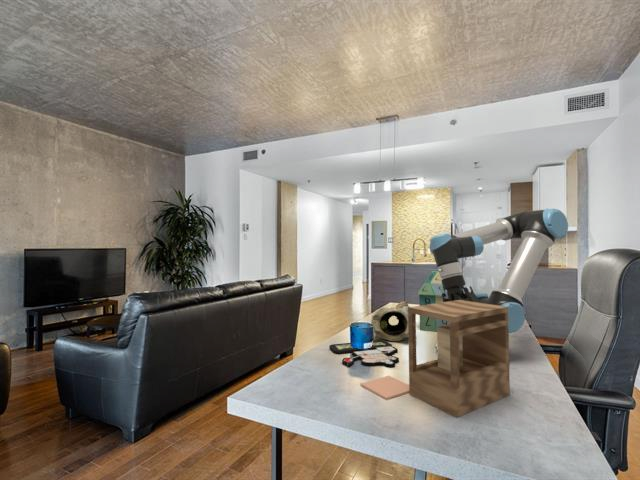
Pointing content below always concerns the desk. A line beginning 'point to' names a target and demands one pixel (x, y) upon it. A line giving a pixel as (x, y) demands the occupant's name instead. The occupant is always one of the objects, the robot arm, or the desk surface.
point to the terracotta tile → (386, 387)
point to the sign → (368, 354)
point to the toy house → (431, 300)
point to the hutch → (478, 357)
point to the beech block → (447, 348)
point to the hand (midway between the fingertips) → (470, 337)
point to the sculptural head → (385, 328)
